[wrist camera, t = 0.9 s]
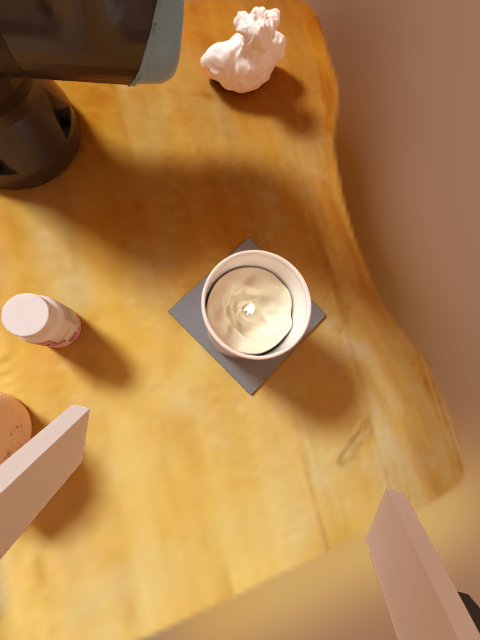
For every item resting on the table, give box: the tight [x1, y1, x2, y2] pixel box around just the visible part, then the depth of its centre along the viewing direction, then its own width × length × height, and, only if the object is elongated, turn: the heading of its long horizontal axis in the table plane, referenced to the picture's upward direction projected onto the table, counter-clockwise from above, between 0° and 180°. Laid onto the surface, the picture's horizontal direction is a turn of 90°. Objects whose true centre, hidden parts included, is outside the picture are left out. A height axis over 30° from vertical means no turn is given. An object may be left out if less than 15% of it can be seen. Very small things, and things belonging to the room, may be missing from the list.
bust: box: [201, 7, 286, 93], centre depth 43 cm, size 12×8×11 cm
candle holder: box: [201, 250, 311, 360], centre depth 35 cm, size 10×10×12 cm
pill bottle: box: [1, 293, 81, 348], centre depth 34 cm, size 5×5×8 cm
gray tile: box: [168, 238, 326, 395], centre depth 41 cm, size 14×14×1 cm
